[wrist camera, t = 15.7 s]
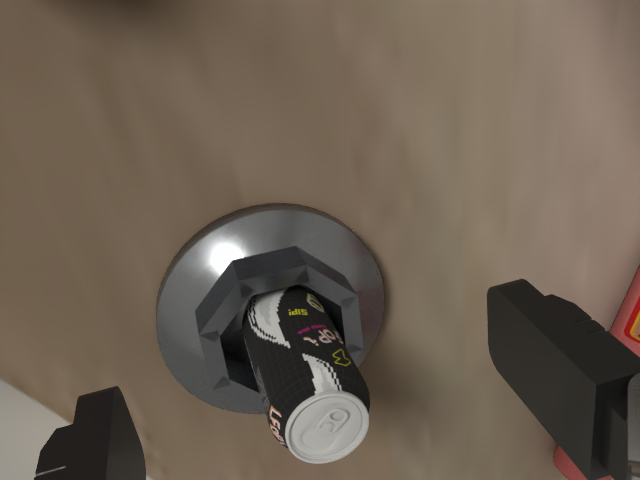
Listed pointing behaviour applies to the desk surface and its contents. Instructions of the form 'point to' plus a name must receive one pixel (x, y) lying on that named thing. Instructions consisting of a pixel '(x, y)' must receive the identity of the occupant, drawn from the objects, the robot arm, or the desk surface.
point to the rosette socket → (254, 278)
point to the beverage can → (305, 375)
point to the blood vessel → (634, 332)
